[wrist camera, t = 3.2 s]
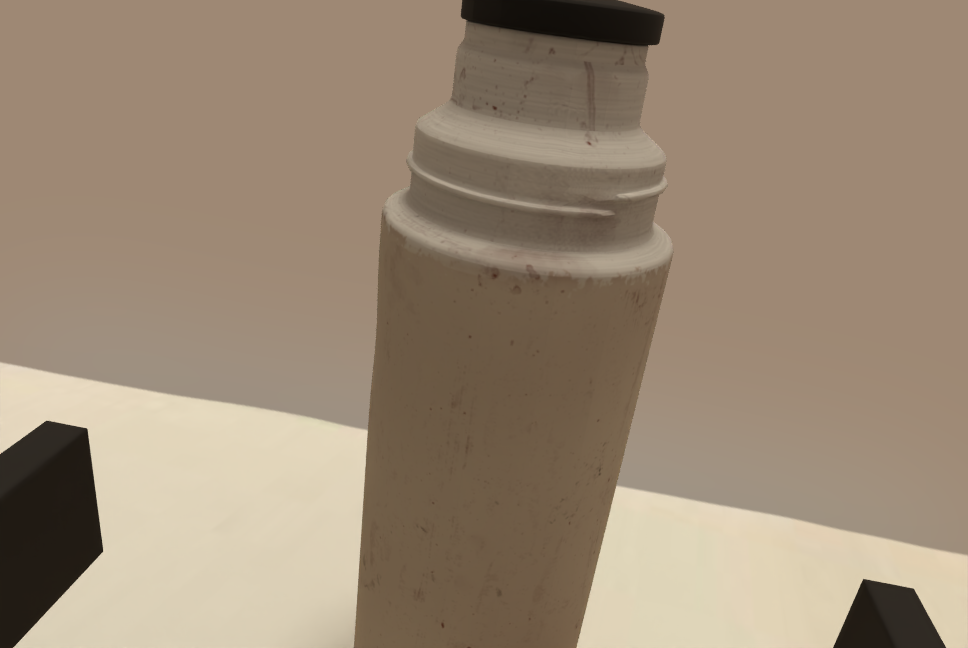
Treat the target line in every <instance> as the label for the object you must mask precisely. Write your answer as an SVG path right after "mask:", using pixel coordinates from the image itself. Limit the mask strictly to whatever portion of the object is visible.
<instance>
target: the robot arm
mask: <svg viewBox="0 0 968 648" xmlns="http://www.w3.org/2000/svg"><path fill="white" fill-rule="evenodd" d="M102 552H103V546H102V538H101V530H100V522H99V515H98V507H97V499H96V492H95V484H94V476H93V469H92V461H91V453H90V446H89V438H88V430H87V428H82V427H76V426H71V425H66V424H61V423H56V422H51V421H45V422H44V423H43V424H41V425H40V426H39V427H37V428H36V429H34V430H33V431H32V432H30V433H29V434H28V435H26V436H25V437H23V438H22V439H21V440H19V441H18V442H16V443H15V444H14V445H12V446H11V447H10V448H8V449H7V450H5V451H4V452H3V453H1V454H0V648H13V647H14V646H15V645H16V644H17V643H18V642H19V641H20V640H21V639H22V638H23V637H24V636H25V634H26V633H27V632H28V631H29V630H30V629H31V628H32V627H33V626H34V625H35V624H36V623H37V622H38V621H39V619H40V618H41V617H42V616H43V615H44V614H45V613H46V612H47V611H48V610H49V609H50V608H51V607H52V606H53V605H54V603H55V602H56V601H57V600H58V599H59V598H60V597H61V596H62V595H63V594H64V593H65V592H66V591H67V590H68V589H69V587H70V586H71V585H72V584H73V583H74V582H75V581H76V580H77V579H78V578H79V577H80V576H81V575H82V574H83V573H84V571H85V570H86V569H87V568H88V567H89V566H90V565H91V564H92V563H93V562H94V561H95V560H96V559H97V558H98V556H99V555H100V554H101V553H102ZM833 648H946V647H945V645H944V643H943V641H942V640H941V638H940V636H939V634H938V632H937V630H936V629H935V627H934V625H933V623H932V621H931V619H930V618H929V616H928V614H927V612H926V610H925V608H924V607H923V605H922V603H921V601H920V599H919V597H918V596H917V594H916V592H915V590H914V589H912V588H907V587H902V586H897V585H892V584H887V583H881V582H876V581H871V580H866V579H863V581H862V583H861V585H860V588H859V590H858V592H857V595H856V597H855V599H854V601H853V604H852V606H851V608H850V611H849V613H848V615H847V617H846V620H845V622H844V624H843V627H842V629H841V631H840V633H839V636H838V638H837V640H836V643H835V645H834V647H833Z"/></svg>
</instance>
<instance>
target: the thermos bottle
mask: <svg viewBox="0 0 968 648" xmlns="http://www.w3.org/2000/svg"><path fill="white" fill-rule="evenodd" d="M461 17H462V18H463V19H466V20H467V21H466V30H465V38H464V40H463V42H462V43H461V44H460V46H459V47H458V50H457V55H456V64H455V74H454V83H453V93H452V97H451V99H450V100H449V101H448V102H447V103H445V104H444V105H442V106H440V107H438V108H436V109H435V110H433V111H431V112H429V113H428V114H426V115H424V116H422V117H421V118H420V119H419V120H418V122H417V124H416V127H415V137H414V149H413V150H412V151H411V152H410V153H409V155H408V157H407V161H406V162H407V165H408V167H409V169H410V171H411V172H412V175H411V185H410V186H409V187H407V188H405V189H402V190H400V191H397V192H395V193H394V194H393V195H392V196H390V197H389V198H388V199H387V200H386V202H385V205H384V207H383V210H382V220H381V234H380V250H379V270H378V306H377V307H378V308H377V329H376V345H375V356H374V366H373V376H372V385H371V396H370V409H369V423H368V438H367V454H366V469H365V485H364V501H363V516H362V532H361V548H360V564H359V579H358V595H357V611H356V626H355V642H354V648H576V647H577V643H578V639H579V634H580V630H581V626H582V622H583V618H584V614H585V610H586V606H587V602H588V598H589V594H590V590H591V586H592V582H593V578H594V574H595V569H596V565H597V561H598V557H599V553H600V549H601V545H602V541H603V537H604V533H605V529H606V525H607V521H608V517H609V513H610V509H611V504H612V500H613V496H614V492H615V488H616V484H617V480H618V476H619V472H620V468H621V464H622V460H623V456H624V451H625V447H626V443H627V439H628V435H629V431H630V427H631V423H632V419H633V415H634V411H635V407H636V402H637V399H638V395H639V391H640V387H641V382H642V378H643V374H644V370H645V366H646V362H647V358H648V354H649V350H650V346H651V342H652V338H653V334H654V329H655V326H656V322H657V317H658V313H659V309H660V305H661V301H662V297H663V293H664V289H665V285H666V280H667V277H668V273H669V269H670V264H671V261H672V256H673V246H672V241H671V239H670V237H669V236H668V235H667V233H666V232H665V231H664V230H663V229H662V228H661V227H659V226H658V225H656V224H655V223H654V222H653V219H654V214H655V210H656V205H657V201H658V197H659V194H661V193H663V192H664V190H665V189H666V188H667V181H666V178H665V177H664V176H663V174H664V170H665V166H666V157H665V154H664V152H663V151H662V150H661V149H660V147H659V146H658V145H657V144H656V143H655V142H654V141H653V140H652V139H651V138H650V137H649V136H648V135H647V134H646V133H645V132H644V131H643V130H642V128H641V127H640V118H641V113H642V108H643V103H644V98H645V92H646V88H647V83H648V71H647V69H646V66H645V61H646V56H647V50H648V45H657V44H659V41H660V37H661V31H662V27H663V22H664V15H663V14H662V13H659V12H657V11H654V10H650V9H647V8H643V7H639V6H636V5H633V4H629V3H626V2H622V1H618V0H462V9H461Z"/></svg>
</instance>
